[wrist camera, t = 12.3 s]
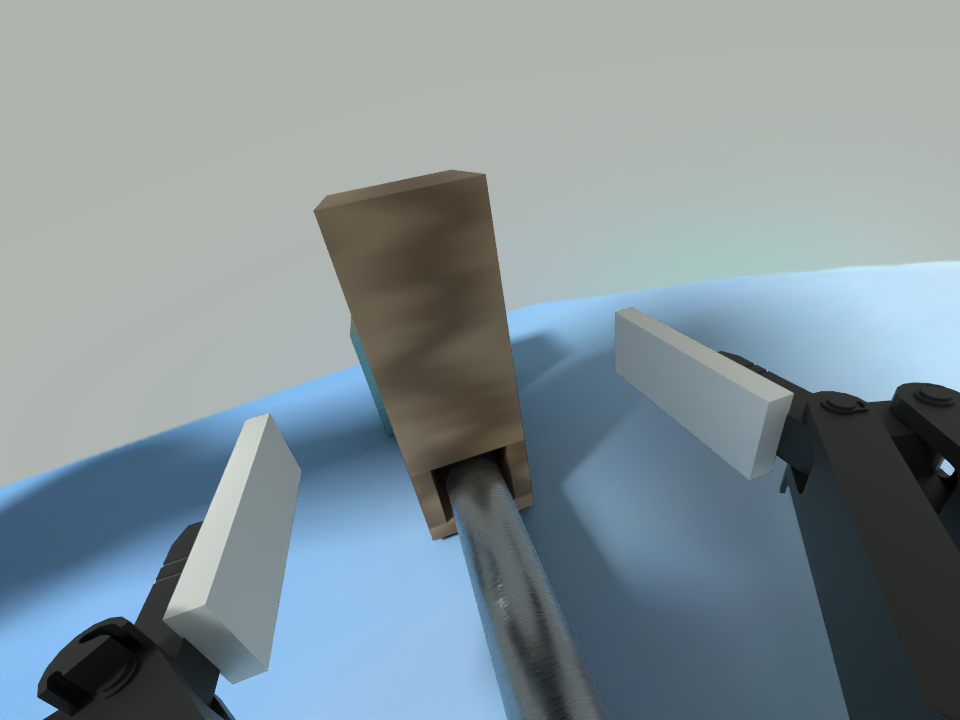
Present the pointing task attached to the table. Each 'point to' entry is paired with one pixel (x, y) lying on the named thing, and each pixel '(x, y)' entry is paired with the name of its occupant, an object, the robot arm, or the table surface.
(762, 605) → the table surface
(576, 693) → the rod stand
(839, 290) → the table surface
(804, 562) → the table surface
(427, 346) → the sleeve
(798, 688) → the table surface
